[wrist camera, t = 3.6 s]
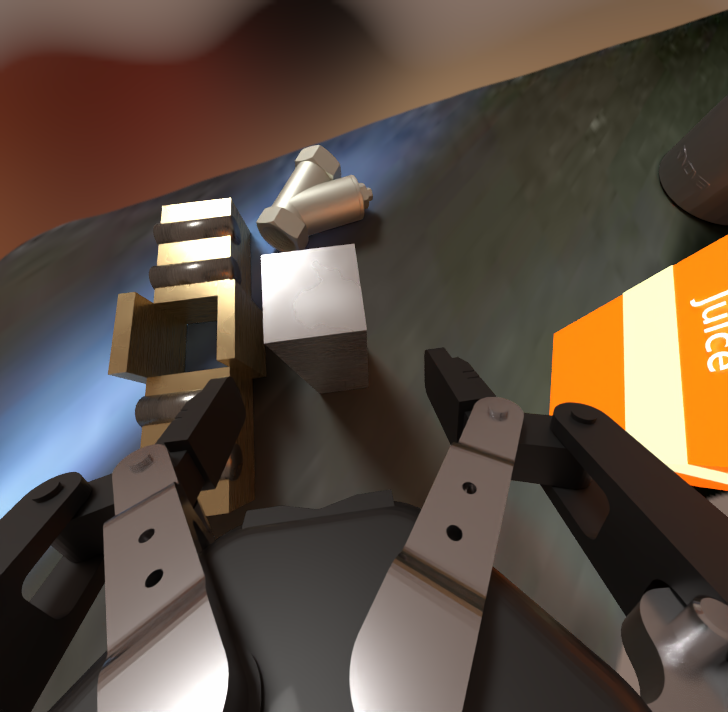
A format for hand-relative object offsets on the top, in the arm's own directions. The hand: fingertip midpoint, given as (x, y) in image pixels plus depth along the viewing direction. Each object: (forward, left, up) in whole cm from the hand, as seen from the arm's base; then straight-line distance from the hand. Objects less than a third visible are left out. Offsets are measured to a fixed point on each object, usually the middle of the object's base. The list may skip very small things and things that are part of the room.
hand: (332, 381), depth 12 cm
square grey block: (0, -3, -8) cm, 9 cm away
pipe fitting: (0, -16, -9) cm, 18 cm away
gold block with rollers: (+9, -5, -8) cm, 13 cm away
